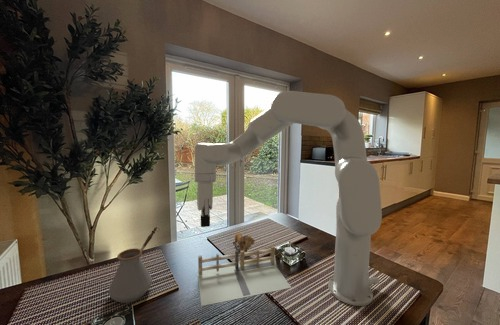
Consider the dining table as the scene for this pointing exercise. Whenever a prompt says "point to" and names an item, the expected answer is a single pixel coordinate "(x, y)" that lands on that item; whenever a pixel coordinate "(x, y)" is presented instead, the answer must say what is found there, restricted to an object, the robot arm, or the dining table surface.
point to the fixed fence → (271, 258)
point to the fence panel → (218, 262)
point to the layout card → (240, 282)
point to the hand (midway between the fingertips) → (205, 225)
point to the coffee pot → (131, 275)
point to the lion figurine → (243, 241)
